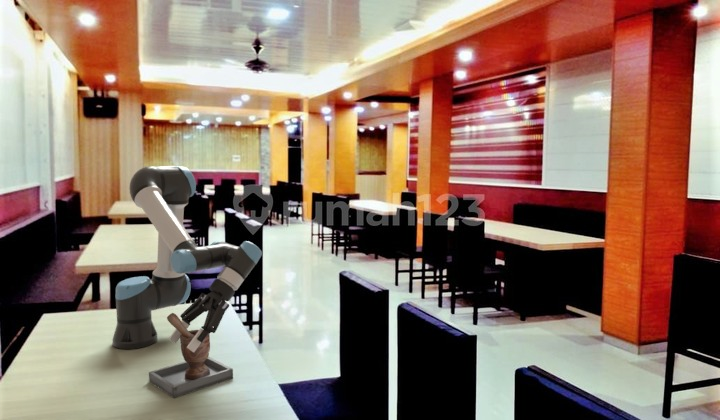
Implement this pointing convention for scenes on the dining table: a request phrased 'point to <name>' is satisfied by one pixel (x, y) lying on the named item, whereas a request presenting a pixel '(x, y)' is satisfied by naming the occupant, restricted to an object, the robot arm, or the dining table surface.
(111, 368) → the dining table surface
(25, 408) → the dining table surface
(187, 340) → the mortar and pestle
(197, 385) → the tray
